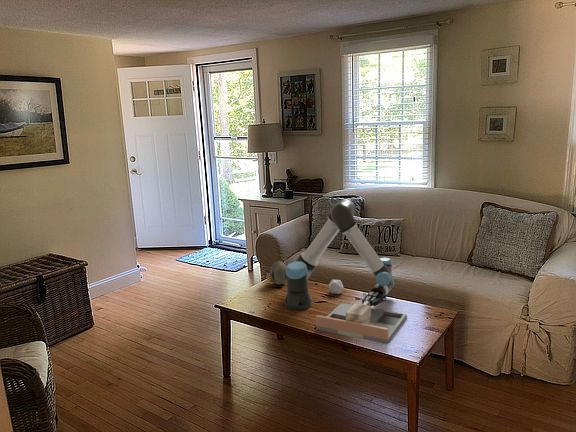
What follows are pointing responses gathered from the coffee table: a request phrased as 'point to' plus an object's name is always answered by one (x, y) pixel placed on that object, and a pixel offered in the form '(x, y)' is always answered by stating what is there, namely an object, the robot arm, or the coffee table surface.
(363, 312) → the block
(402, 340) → the coffee table surface
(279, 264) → the decorative egg
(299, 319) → the coffee table surface
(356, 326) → the box
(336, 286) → the die
